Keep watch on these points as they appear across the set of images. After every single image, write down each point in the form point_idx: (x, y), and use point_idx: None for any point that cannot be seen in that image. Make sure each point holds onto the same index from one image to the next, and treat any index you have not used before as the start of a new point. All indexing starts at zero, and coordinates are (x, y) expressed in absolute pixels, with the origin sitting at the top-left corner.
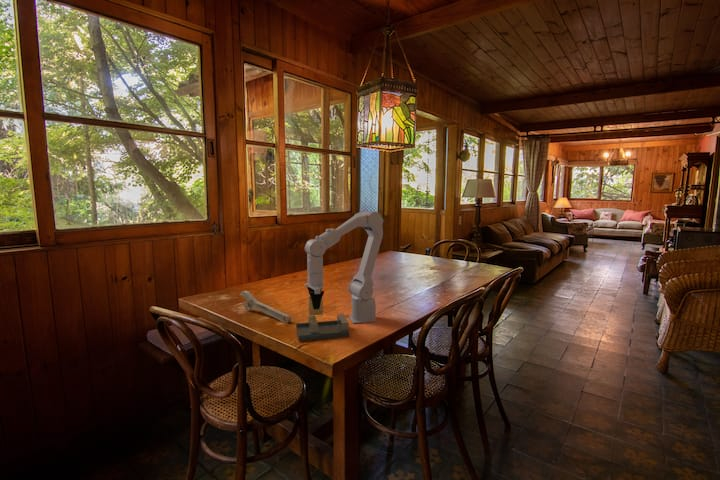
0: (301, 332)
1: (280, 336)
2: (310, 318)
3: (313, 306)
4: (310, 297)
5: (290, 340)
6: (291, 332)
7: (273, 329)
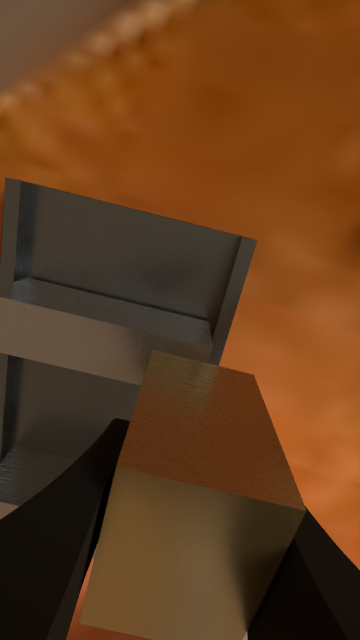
0: (110, 234)
1: (166, 75)
2: (150, 344)
3: (98, 438)
4: (236, 523)
5: (66, 131)
6: (202, 183)
7: (333, 54)
